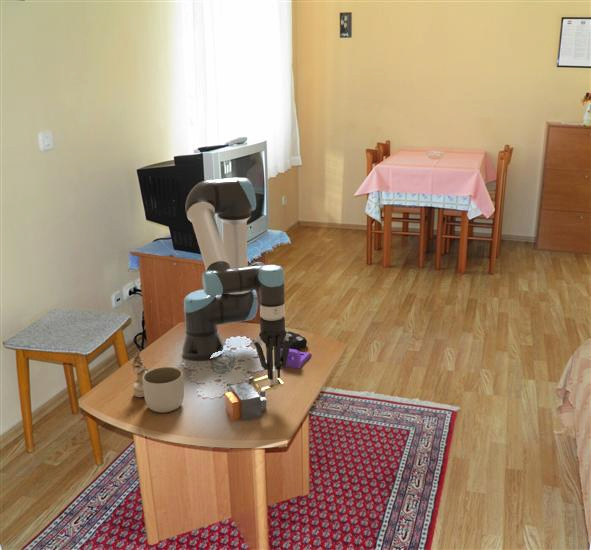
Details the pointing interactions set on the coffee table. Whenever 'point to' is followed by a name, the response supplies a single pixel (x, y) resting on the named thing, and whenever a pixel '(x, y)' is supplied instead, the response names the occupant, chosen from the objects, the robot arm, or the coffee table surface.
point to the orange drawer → (238, 405)
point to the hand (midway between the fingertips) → (274, 387)
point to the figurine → (139, 374)
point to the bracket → (296, 358)
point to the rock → (296, 341)
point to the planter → (163, 389)
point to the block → (248, 400)
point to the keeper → (267, 386)
